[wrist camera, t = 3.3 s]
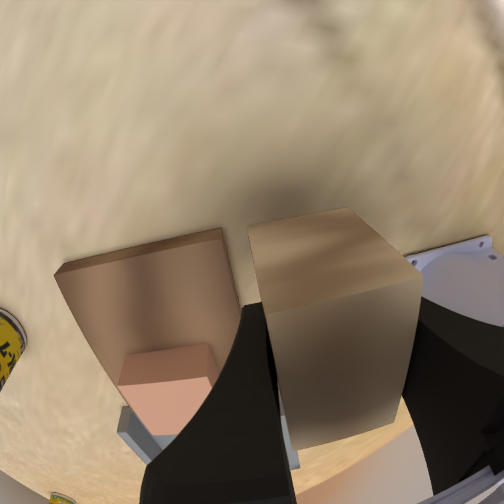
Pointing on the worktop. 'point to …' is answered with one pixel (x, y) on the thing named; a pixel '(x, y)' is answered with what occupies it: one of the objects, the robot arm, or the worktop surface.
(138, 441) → the tray
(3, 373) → the supplement bottle
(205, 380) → the pink square block
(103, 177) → the worktop surface
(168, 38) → the worktop surface
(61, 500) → the supplement bottle
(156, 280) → the board
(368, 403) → the tall beige block
